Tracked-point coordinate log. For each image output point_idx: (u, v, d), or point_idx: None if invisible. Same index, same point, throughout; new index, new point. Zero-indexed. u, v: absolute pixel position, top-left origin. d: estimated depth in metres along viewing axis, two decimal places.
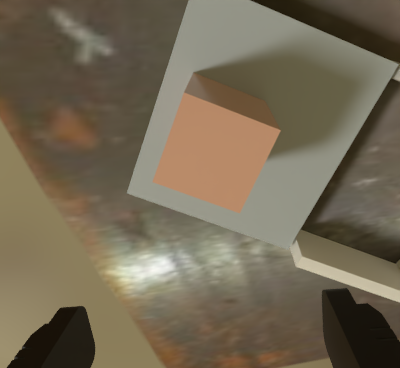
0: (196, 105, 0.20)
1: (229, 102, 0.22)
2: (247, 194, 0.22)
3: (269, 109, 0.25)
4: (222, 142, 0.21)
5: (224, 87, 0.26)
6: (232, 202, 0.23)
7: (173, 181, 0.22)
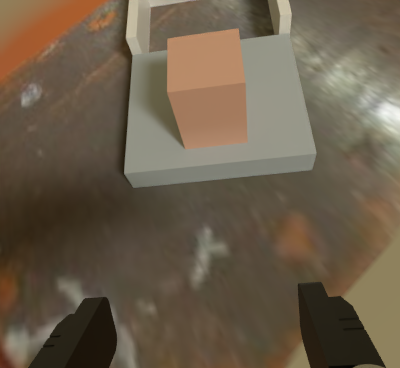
0: (172, 82, 0.28)
1: None
2: (221, 31, 0.29)
3: None
4: (191, 59, 0.28)
5: None
6: (232, 35, 0.29)
7: (236, 71, 0.27)
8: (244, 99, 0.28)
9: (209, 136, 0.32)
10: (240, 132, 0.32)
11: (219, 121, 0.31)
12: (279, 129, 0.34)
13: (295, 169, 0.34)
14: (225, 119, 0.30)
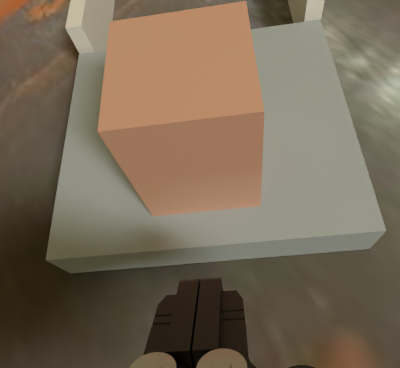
0: (110, 110, 0.13)
1: None
2: (212, 7, 0.15)
3: None
4: (151, 62, 0.14)
5: None
6: (233, 14, 0.15)
7: (244, 86, 0.13)
8: (259, 142, 0.14)
9: (193, 199, 0.18)
10: (249, 193, 0.18)
11: (210, 178, 0.16)
12: (315, 182, 0.19)
13: (340, 249, 0.20)
14: (222, 175, 0.16)
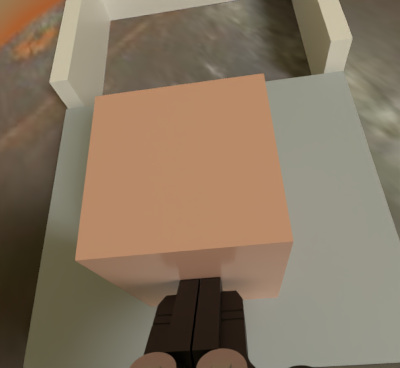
0: (92, 228, 0.10)
1: None
2: (221, 81, 0.12)
3: None
4: (146, 157, 0.11)
5: None
6: (248, 92, 0.12)
7: (266, 200, 0.10)
8: (283, 261, 0.11)
9: None
10: (266, 290, 0.15)
11: None
12: (346, 287, 0.16)
13: None
14: (234, 281, 0.13)
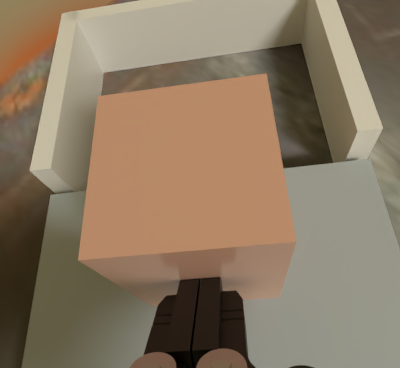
0: (95, 228, 0.10)
1: None
2: (224, 81, 0.12)
3: None
4: (148, 157, 0.11)
5: None
6: (251, 92, 0.12)
7: (269, 201, 0.10)
8: (286, 262, 0.11)
9: None
10: (267, 290, 0.15)
11: (222, 283, 0.13)
12: None
13: None
14: (235, 282, 0.13)
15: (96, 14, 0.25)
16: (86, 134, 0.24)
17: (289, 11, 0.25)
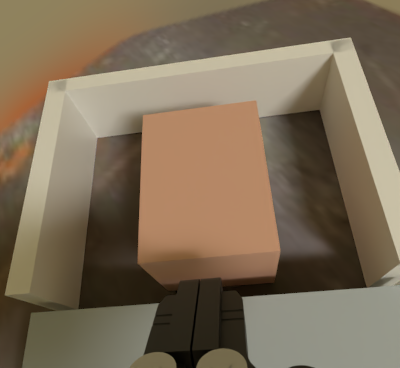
0: None
1: None
2: None
3: None
4: None
5: None
6: None
7: None
8: (258, 129, 0.17)
9: (195, 221, 0.16)
10: (260, 213, 0.15)
11: (217, 178, 0.16)
12: None
13: None
14: (228, 174, 0.16)
15: (87, 85, 0.22)
16: (75, 223, 0.21)
17: (308, 81, 0.22)
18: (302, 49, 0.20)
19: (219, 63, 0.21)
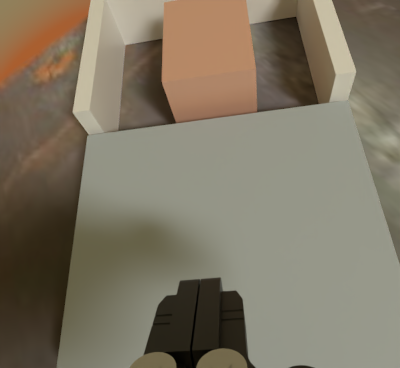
0: None
1: None
2: None
3: None
4: None
5: None
6: None
7: None
8: (244, 5, 0.25)
9: (200, 57, 0.23)
10: (244, 50, 0.23)
11: (215, 34, 0.24)
12: (350, 309, 0.17)
13: None
14: (223, 31, 0.24)
15: None
16: (113, 92, 0.29)
17: None
18: None
19: None
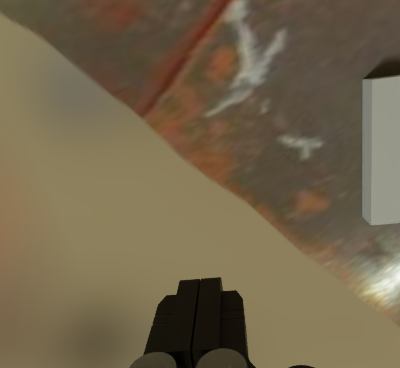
0: None
1: None
2: None
3: None
4: None
5: None
6: None
7: None
8: None
9: None
10: None
11: None
12: (397, 201, 0.44)
13: (363, 205, 0.47)
14: None
15: None
16: None
17: None
18: None
19: None
